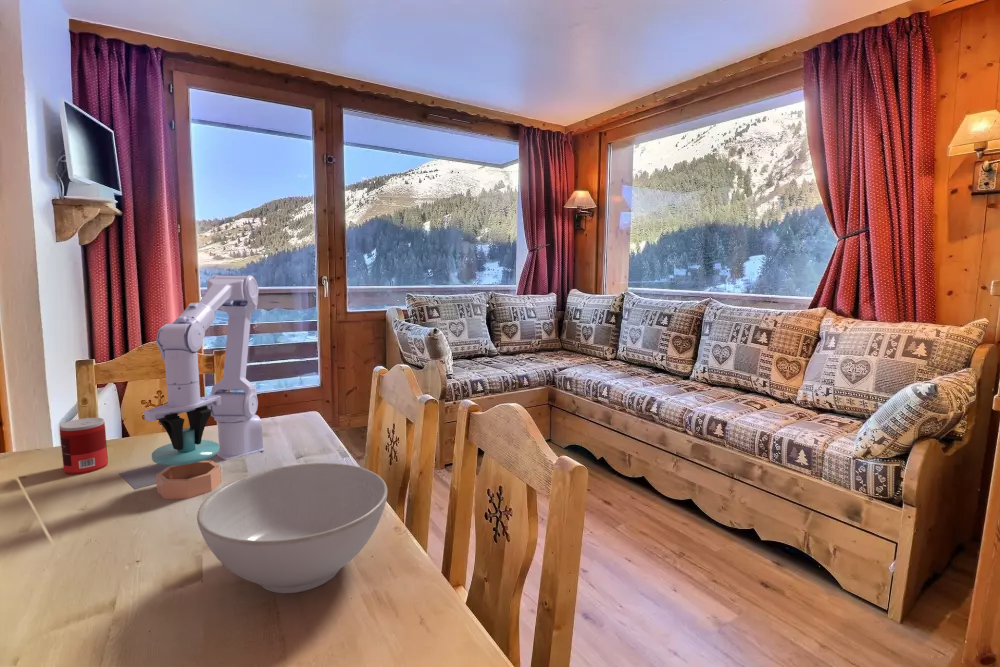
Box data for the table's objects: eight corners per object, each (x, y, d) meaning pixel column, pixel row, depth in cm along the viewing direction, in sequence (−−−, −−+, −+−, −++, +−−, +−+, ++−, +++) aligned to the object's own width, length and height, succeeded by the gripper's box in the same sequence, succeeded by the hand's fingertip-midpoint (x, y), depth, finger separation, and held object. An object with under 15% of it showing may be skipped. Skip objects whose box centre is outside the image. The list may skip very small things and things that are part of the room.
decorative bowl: (212, 543, 88) (208, 475, 86) (373, 515, 99) (371, 454, 97) (188, 651, 64) (182, 559, 62) (405, 599, 74) (404, 519, 73)
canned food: (116, 463, 122) (112, 418, 120) (86, 477, 114) (82, 428, 112) (86, 461, 122) (82, 416, 121) (54, 475, 114) (49, 427, 113)
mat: (179, 460, 124) (179, 458, 124) (198, 473, 116) (198, 472, 116) (118, 474, 115) (118, 473, 115) (135, 490, 107) (134, 489, 107)
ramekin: (207, 474, 116) (206, 456, 116) (227, 488, 109) (226, 469, 109) (152, 489, 108) (151, 470, 108) (170, 505, 101) (168, 485, 101)
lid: (197, 439, 116) (196, 417, 115) (231, 451, 111) (231, 428, 110) (139, 456, 106) (138, 432, 105) (174, 470, 100) (172, 445, 99)
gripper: (205, 373, 114) (208, 433, 116) (133, 386, 101) (138, 453, 103) (225, 377, 111) (229, 438, 113) (154, 391, 98) (159, 460, 100)
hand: (187, 446), depth 108 cm, fingers closed on lid, 3 cm apart
